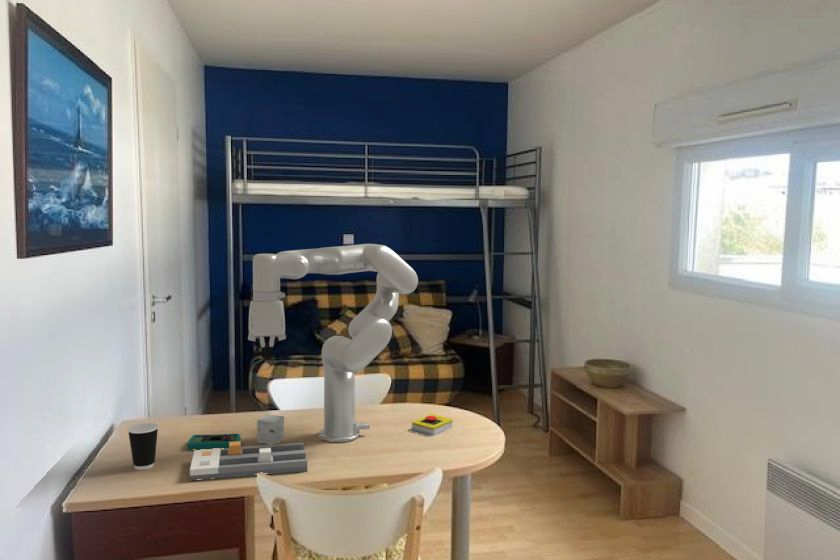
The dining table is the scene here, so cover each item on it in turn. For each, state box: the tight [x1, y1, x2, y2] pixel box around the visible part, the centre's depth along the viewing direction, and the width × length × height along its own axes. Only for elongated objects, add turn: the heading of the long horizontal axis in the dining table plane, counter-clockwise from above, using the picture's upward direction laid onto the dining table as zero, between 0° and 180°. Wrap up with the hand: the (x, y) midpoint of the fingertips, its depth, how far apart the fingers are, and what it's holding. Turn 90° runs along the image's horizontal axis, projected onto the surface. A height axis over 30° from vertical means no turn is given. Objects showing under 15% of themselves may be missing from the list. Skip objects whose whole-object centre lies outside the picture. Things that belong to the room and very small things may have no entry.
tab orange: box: [227, 440, 243, 456], centre depth 177 cm, size 4×4×4 cm
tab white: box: [258, 448, 273, 463], centre depth 173 cm, size 4×4×4 cm
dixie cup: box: [126, 422, 160, 471], centre depth 174 cm, size 8×8×11 cm
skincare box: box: [256, 414, 285, 445], centre depth 195 cm, size 6×6×7 cm
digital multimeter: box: [187, 433, 242, 451], centre depth 191 cm, size 7×15×3 cm, turn 98°
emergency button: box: [408, 413, 454, 438], centre depth 209 cm, size 9×4×15 cm
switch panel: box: [189, 442, 308, 481], centre depth 175 cm, size 30×14×3 cm, turn 105°
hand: (267, 359), depth 185 cm, fingers closed
